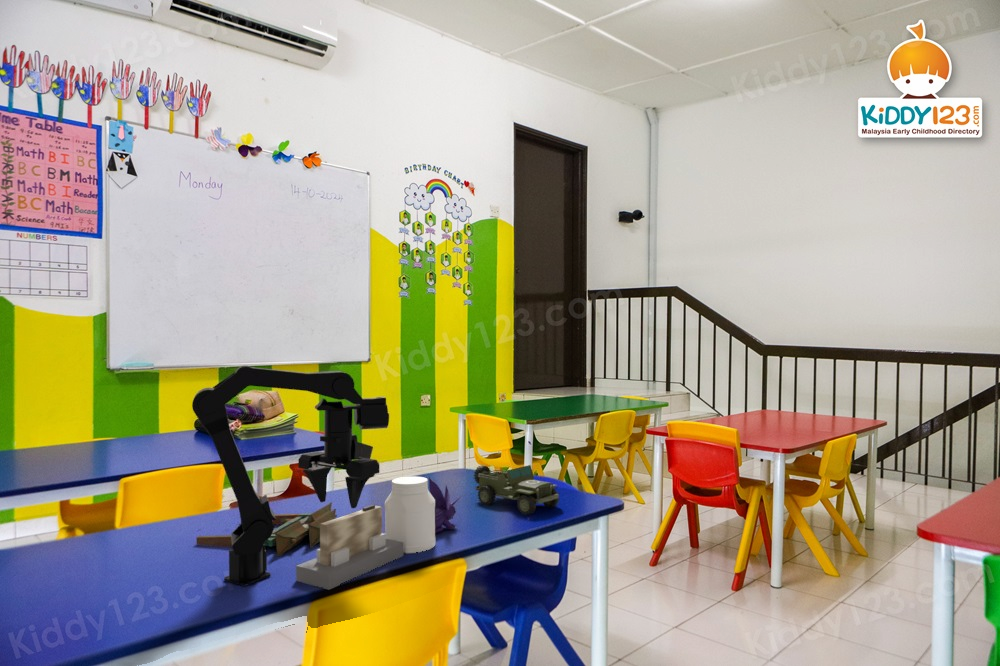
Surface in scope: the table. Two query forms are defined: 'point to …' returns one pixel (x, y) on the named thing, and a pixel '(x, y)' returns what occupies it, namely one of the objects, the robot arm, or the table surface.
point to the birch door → (350, 532)
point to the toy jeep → (515, 488)
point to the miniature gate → (284, 530)
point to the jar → (410, 514)
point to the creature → (442, 507)
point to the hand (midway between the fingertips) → (338, 504)
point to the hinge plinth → (349, 563)
